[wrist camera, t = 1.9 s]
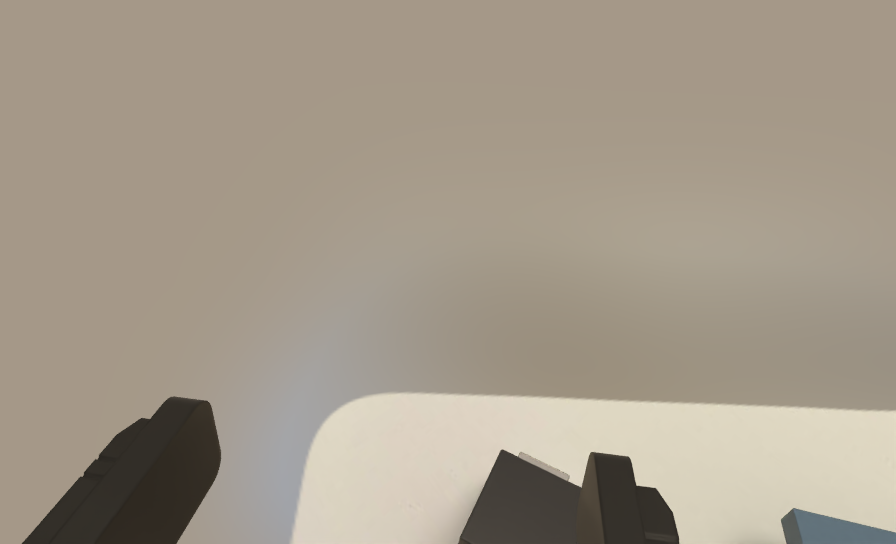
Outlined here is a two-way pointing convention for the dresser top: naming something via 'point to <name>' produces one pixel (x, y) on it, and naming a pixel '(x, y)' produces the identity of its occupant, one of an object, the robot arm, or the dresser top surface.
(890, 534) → the ironing board
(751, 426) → the dresser top surface
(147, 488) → the robot arm
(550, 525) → the stacked block tower
